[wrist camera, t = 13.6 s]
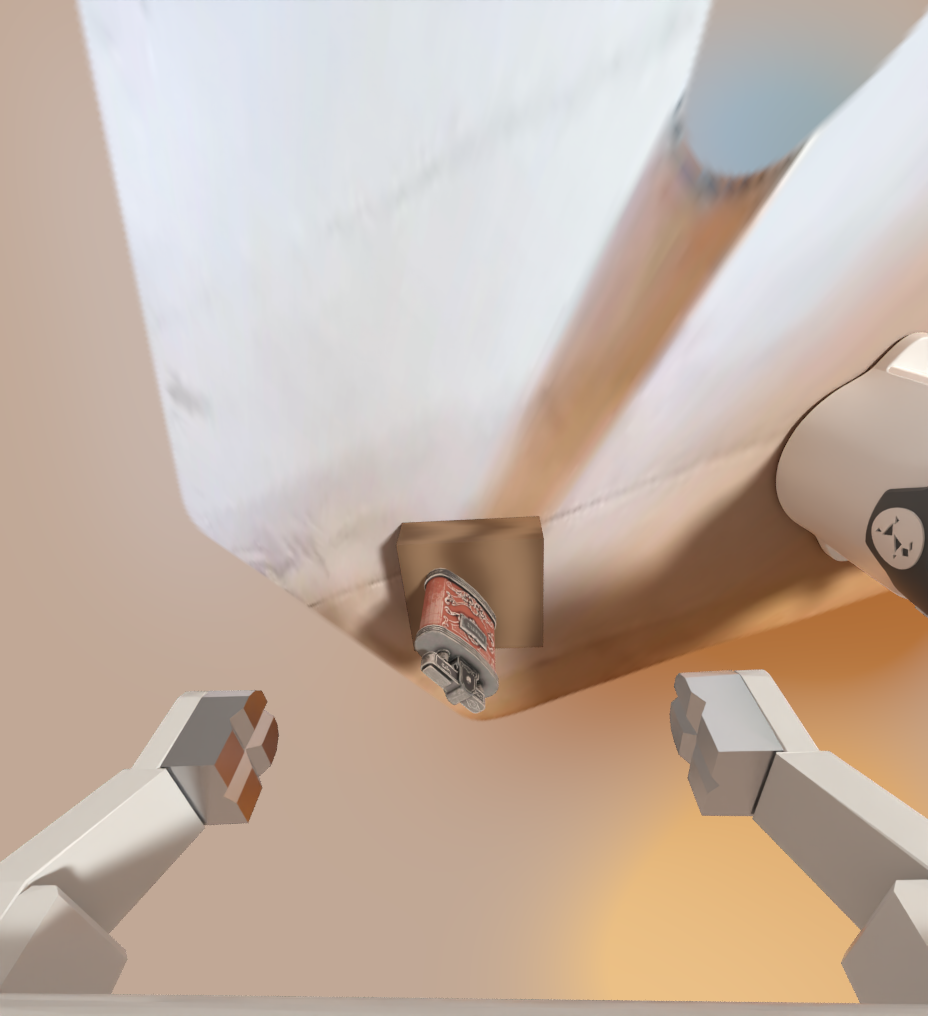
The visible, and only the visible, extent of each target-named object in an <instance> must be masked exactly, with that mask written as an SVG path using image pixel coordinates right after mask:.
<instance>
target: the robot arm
mask: <svg viewBox="0 0 928 1016" xmlns="http://www.w3.org/2000/svg"><path fill="white" fill-rule="evenodd" d="M776 490H777V495H778V499H779V502H780V504H781V506H782V508H783V510H784V511H785V512H786V514H787V515H788V516H789V517H790V518H791V519H792V520H793V521H794V522H795V523H797V524H798V525H800V526H802V527H803V528H805V529H807V530H808V531H810V532H811V533H813V534H814V535H815V536H816V538H817V540H818V542H819V544H820V546H821V548H822V549H823V551H824V552H825V553H826V554H827V555H829V556H830V557H832V558H833V559H835V560H837V561H848V560H849V561H850V562H851V563H853V564H854V565H855V566H857V567H858V568H860V569H861V570H862V571H864V572H865V573H867V574H868V575H869V576H871V577H872V578H874V579H875V580H876V581H878V582H879V583H881V584H882V585H884V586H885V587H886V588H888V589H889V590H891V591H892V592H894V593H895V594H897V595H898V596H900V597H903V598H906V599H908V600H910V601H911V602H912V603H913V604H914V605H915V608H916V609H917V610H919V611H920V612H921V613H922V614H923V615H925V616H926V617H928V333H924V332H918V333H913V334H910V335H908V336H907V337H905V338H903V339H902V340H901V341H899V342H898V343H897V344H896V345H895V346H894V347H893V348H892V349H891V350H889V351H888V353H887V354H886V355H885V356H884V357H883V358H882V359H881V360H880V361H879V362H878V363H877V364H876V365H875V366H874V367H873V368H872V369H871V370H869V371H868V372H867V373H865V374H863V375H862V376H860V377H859V378H857V379H855V380H853V381H852V382H850V383H848V384H847V385H845V386H843V387H841V388H840V389H838V390H837V391H835V392H834V393H832V394H831V395H830V396H828V397H827V398H826V399H824V400H823V401H822V402H821V403H820V404H818V405H817V406H816V407H815V408H814V409H813V410H812V411H811V412H810V413H809V414H808V415H807V416H806V417H805V418H804V419H803V421H802V422H801V423H800V424H799V425H798V427H797V428H796V429H795V431H794V432H793V434H792V435H791V437H790V439H789V440H788V442H787V444H786V446H785V448H784V450H783V452H782V455H781V457H780V461H779V464H778V468H777V474H776ZM674 688H675V690H676V693H677V695H678V697H677V698H676V699H675V700H674V701H673V702H671V708H670V723H671V731H672V734H673V739H674V742H675V745H676V748H677V751H678V754H679V755H680V756H681V757H682V758H684V759H685V760H686V761H687V762H688V763H689V764H690V769H689V774H688V780H689V783H690V786H691V788H692V791H693V794H694V796H695V799H696V801H697V804H698V806H699V809H700V812H701V814H702V815H703V816H753V820H754V821H755V822H756V823H757V824H758V825H759V826H760V827H761V828H762V829H763V830H764V831H765V832H766V833H767V834H768V835H769V836H770V837H771V838H772V839H773V840H774V841H775V842H776V844H777V845H779V846H780V848H781V849H783V851H784V852H785V853H786V854H787V855H788V856H789V857H790V858H791V859H792V860H793V861H794V862H795V863H796V864H797V865H798V866H799V867H800V868H801V869H802V870H803V871H804V872H805V873H806V874H807V875H808V876H809V877H810V878H811V879H812V880H813V881H814V882H815V883H816V884H817V886H818V887H819V888H820V889H821V890H822V891H823V892H824V893H825V894H826V895H827V896H828V897H829V898H830V899H831V900H832V901H833V902H834V903H835V904H836V905H837V906H838V907H839V908H840V909H841V910H842V911H843V912H844V913H845V914H846V915H847V916H848V917H849V918H850V919H851V920H852V921H853V922H854V923H855V924H856V925H857V926H858V928H860V930H861V931H860V933H859V934H858V935H857V937H856V938H855V940H854V941H853V943H852V944H851V945H850V947H849V948H848V950H847V951H846V953H845V955H844V957H843V960H842V962H841V964H842V966H843V968H844V970H845V972H846V974H847V977H848V979H849V981H850V983H851V985H852V987H853V989H854V991H855V993H856V995H857V997H858V1000H859V1002H860V1003H786V1002H785V1003H783V1002H781V1003H780V1002H778V1003H777V1002H702V1001H699V1002H698V1001H623V1000H622V1001H620V1000H613V1001H612V1000H539V999H459V998H377V997H296V996H211V995H210V996H209V995H208V996H207V995H131V994H129V995H128V994H111V993H112V990H113V988H114V986H115V984H116V982H117V980H118V978H119V976H120V974H121V972H122V970H123V967H124V965H125V963H126V961H127V955H126V950H125V949H124V948H123V947H122V946H121V945H120V944H119V943H118V942H117V941H115V940H114V939H113V938H112V937H111V936H110V935H109V933H110V932H111V931H112V930H113V929H114V928H115V927H116V926H117V924H118V923H119V922H120V921H121V920H122V919H123V918H124V917H125V916H126V914H127V913H128V912H129V911H130V910H131V909H132V908H133V907H134V906H135V904H136V903H137V902H138V901H139V900H140V899H141V898H142V897H143V896H144V895H145V893H146V892H147V891H148V890H149V889H150V888H151V887H152V886H153V885H154V884H155V883H156V881H157V880H158V879H159V878H160V877H161V876H162V875H163V874H164V873H165V871H166V870H167V869H168V868H169V867H170V866H171V865H172V864H173V863H174V862H175V861H176V859H177V858H178V857H179V856H180V855H181V854H182V853H183V852H184V851H185V850H186V848H187V847H188V846H189V845H190V844H191V843H192V842H193V841H194V840H195V838H196V837H197V836H198V835H199V834H200V833H201V832H202V831H203V830H204V829H205V826H204V825H218V824H238V823H248V822H249V820H250V817H251V815H252V812H253V810H254V807H255V805H256V802H257V800H258V797H259V795H260V792H261V790H262V785H261V781H260V778H259V776H260V775H261V774H262V773H263V772H265V771H266V770H267V769H268V768H269V767H270V766H271V764H272V762H273V759H274V756H275V754H276V751H277V744H278V737H279V733H278V725H277V722H276V720H275V718H274V716H273V715H271V714H270V713H268V712H267V711H265V710H264V708H265V706H266V704H267V700H266V698H265V696H264V694H263V692H262V691H256V690H254V691H194V692H185V693H184V694H183V695H181V696H180V697H178V699H177V700H176V701H175V703H174V704H173V706H172V708H171V709H170V710H169V712H168V713H167V715H166V716H165V718H164V719H163V721H162V723H161V724H160V726H159V727H158V729H157V730H156V732H155V733H154V735H153V736H152V738H151V739H150V741H149V742H148V744H147V745H146V747H145V748H144V750H143V751H142V753H141V754H140V756H139V757H138V759H137V761H136V762H135V764H134V765H133V767H132V768H131V769H123V770H122V771H121V772H119V773H118V774H117V775H115V776H114V777H113V778H111V779H110V780H109V781H107V782H106V783H105V784H104V785H102V786H101V787H99V788H98V789H97V790H95V791H94V792H93V793H91V794H90V795H89V796H87V797H86V798H85V799H84V800H82V801H81V802H80V803H79V804H77V805H76V806H74V807H73V808H72V809H70V810H69V811H68V812H66V813H65V814H64V815H62V816H61V817H60V818H58V819H57V820H56V821H55V822H53V823H52V824H50V825H49V826H48V827H46V828H45V829H44V830H43V831H41V832H40V833H39V834H37V835H36V836H35V837H33V838H32V839H31V840H29V841H28V842H27V843H25V844H24V845H23V846H21V847H20V848H19V849H17V850H16V851H15V852H13V853H12V854H11V855H9V856H8V857H7V858H5V859H4V860H3V861H1V862H0V1016H928V819H927V818H925V817H924V816H923V815H921V814H920V813H918V812H917V811H915V810H914V809H912V808H911V807H909V806H908V805H907V804H905V803H904V802H902V801H901V800H899V799H898V798H896V797H895V796H894V795H892V794H890V793H889V792H888V791H886V790H885V789H883V788H882V787H881V786H879V785H878V784H876V783H875V782H873V781H872V780H870V779H869V778H868V777H866V776H865V775H863V774H861V773H860V772H859V771H857V770H856V769H855V768H853V767H851V766H850V765H848V764H847V763H846V762H844V761H843V760H841V759H840V758H838V757H837V756H836V755H834V754H833V753H831V752H830V751H819V749H818V748H817V746H816V744H815V743H814V742H813V740H812V739H811V737H810V735H809V734H808V732H807V731H806V729H805V728H804V726H803V725H802V723H801V722H800V720H799V719H798V717H797V715H796V714H795V712H794V711H793V709H792V708H791V706H790V705H789V703H788V702H787V700H786V699H785V697H784V696H783V694H782V693H781V691H780V690H779V688H778V687H777V685H776V683H775V682H774V680H773V679H772V677H771V676H770V674H769V673H767V672H766V671H765V670H739V671H732V670H729V671H709V672H689V673H679V674H678V675H677V676H676V679H675V684H674Z"/></svg>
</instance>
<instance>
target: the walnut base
mask: <svg viewBox="0 0 928 1016" xmlns="http://www.w3.org/2000/svg"><path fill="white" fill-rule="evenodd" d="M396 547H397V553H398V559H399V564H400V570H401V576H402V582H403V587H404V593H405V599H406V605H407V610H408V616H409V622H410V628H411V633H412V639H413V645H414V651H416V649H415V638H416V634H417V632H418V631H419V629H420V623H421V616H422V610H423V604H424V597H425V589H424V583H425V578H426V576H427V574H428V573H429V572H430V571H432V570H434V569H438V568H445V569H447V570H450V571H451V572H453V573H454V574H456V575H457V576H459V577H460V578H462V579H463V580H464V581H465V582H467V583H468V584H469V585H470V586H471V587H473V588H474V589H475V590H476V591H477V592H478V593H479V594H480V595H481V596H482V598H483V599H484V600H485V601H486V602H487V603H488V605H489V606H490V608H491V609H492V611H493V612H494V614H495V616H496V628H495V630H494V638H495V648H526V647H543V562H544V538H543V533H542V528H541V523H540V518H539V516H537V517H516V518H495V519H474V520H454V521H433V522H412V523H402V526H401V529H400V533H399V537H398V540H397V544H396Z"/></svg>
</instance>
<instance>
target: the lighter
mask: <svg viewBox="0 0 928 1016" xmlns="http://www.w3.org/2000/svg"><path fill="white" fill-rule="evenodd" d="M424 589H425V597H424V604H423V610H422V616H421V623H420V629H419V631H418V632H417V634H416V638H415V649H416V651H417V652H418V653H419V654H420V656H421V657H422V661H421V671H422V672H423V673H424V674H425V675H427V676H428V677H429V678H430V679H432V680H433V681H434V682H435V683H436V684H438V685H439V686H440V687H441V688H443V690H444V692H445V694H446V697H447V699H448V701H449V702H450V703H452V704H453V705H456V704H458V703H459V702H460V703H461V704H462V705H463V706H465V707H466V708H467V709H468V710H470V711H471V712H472V713H479V712H481V711H483V710H484V709H485V698H487V697H490V696H492V695H493V694H495V693H496V691H497V690H498V686H499V685H498V676H497V674H496V670H495V638H494V630H495V628H496V616H495V614H494V612H493V611H492V609H491V608H490V606H489V605H488V603H487V602H486V601H485V600H484V599H483V598H482V596H481V595H480V594H479V593H478V592H477V591H476V590H475V589H474V588H473V587H471V586H470V585H469V584H468V583H467V582H465V581H464V580H463V579H462V578H460V577H459V576H457V575H456V574H454V573H453V572H451V571H450V570H447V569H445V568H438V569H434V570H432V571H430V572H429V573H428V574H427V576H426V578H425V583H424Z"/></svg>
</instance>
